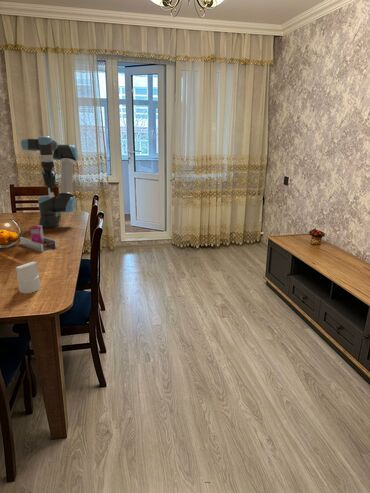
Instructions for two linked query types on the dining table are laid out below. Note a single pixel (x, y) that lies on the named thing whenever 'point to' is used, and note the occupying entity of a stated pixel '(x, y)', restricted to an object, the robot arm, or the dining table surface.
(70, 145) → the robot arm
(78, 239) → the dining table surface
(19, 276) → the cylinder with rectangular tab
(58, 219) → the food container
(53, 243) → the mounting rail
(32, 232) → the supplement box
